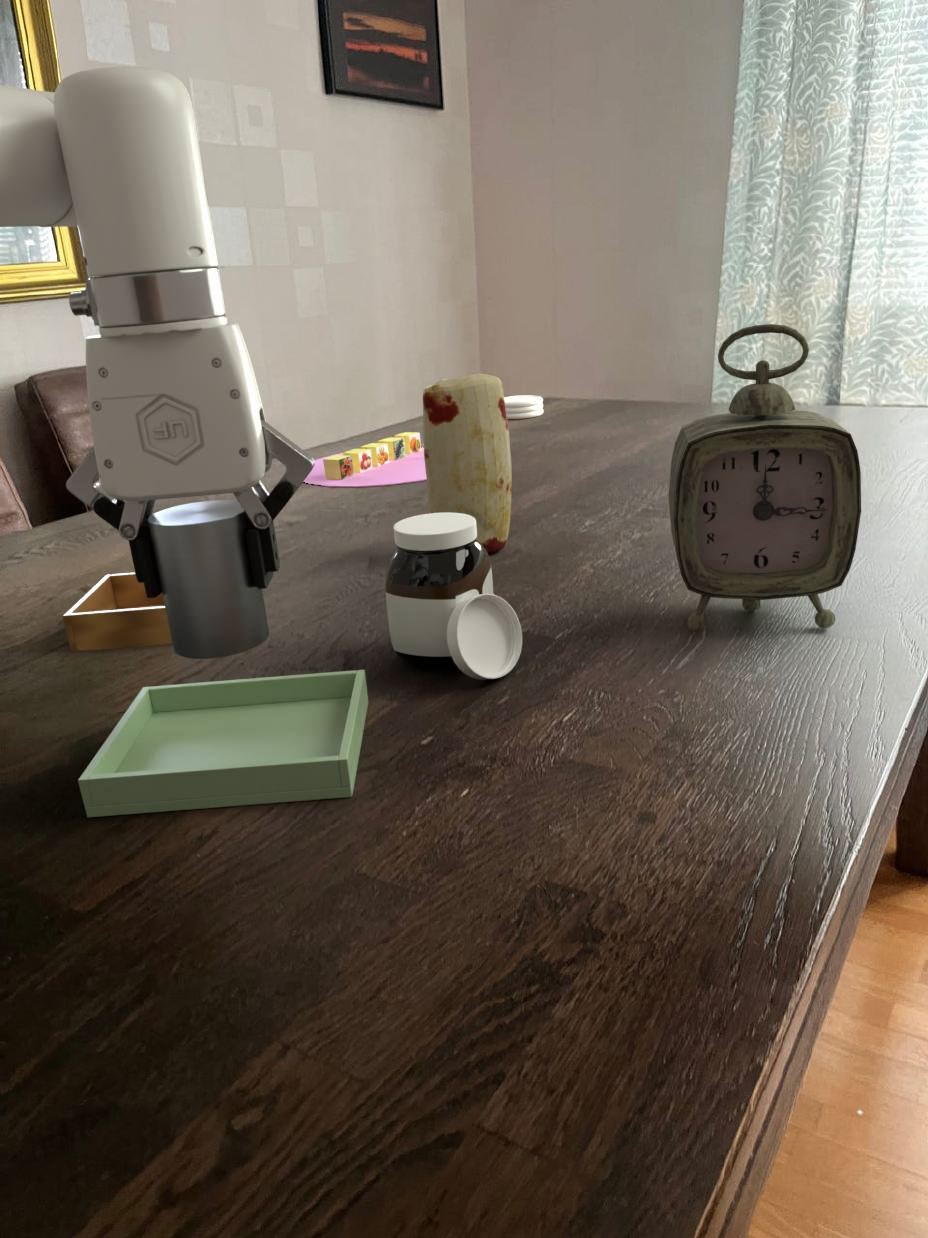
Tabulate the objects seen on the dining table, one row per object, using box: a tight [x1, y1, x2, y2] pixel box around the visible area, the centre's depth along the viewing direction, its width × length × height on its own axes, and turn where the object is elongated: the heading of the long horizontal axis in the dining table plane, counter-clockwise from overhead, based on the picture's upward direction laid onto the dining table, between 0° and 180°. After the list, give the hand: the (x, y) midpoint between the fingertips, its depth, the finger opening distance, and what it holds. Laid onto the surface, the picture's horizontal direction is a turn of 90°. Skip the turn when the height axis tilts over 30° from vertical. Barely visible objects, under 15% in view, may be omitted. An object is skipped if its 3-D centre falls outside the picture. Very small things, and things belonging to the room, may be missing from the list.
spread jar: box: [384, 512, 523, 681], centre depth 80 cm, size 12×11×12 cm
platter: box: [303, 431, 427, 488], centre depth 162 cm, size 32×32×3 cm
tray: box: [77, 669, 369, 818], centre depth 68 cm, size 17×14×3 cm
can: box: [148, 499, 270, 660], centre depth 64 cm, size 6×6×9 cm
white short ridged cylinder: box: [504, 394, 544, 420], centre depth 199 cm, size 10×10×4 cm
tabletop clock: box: [668, 323, 862, 632], centre depth 81 cm, size 14×9×25 cm, turn 82°
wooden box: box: [62, 572, 173, 653], centre depth 94 cm, size 12×12×4 cm
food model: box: [422, 373, 513, 554], centre depth 107 cm, size 10×7×20 cm
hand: (211, 584), depth 64 cm, fingers closed on can, 6 cm apart
